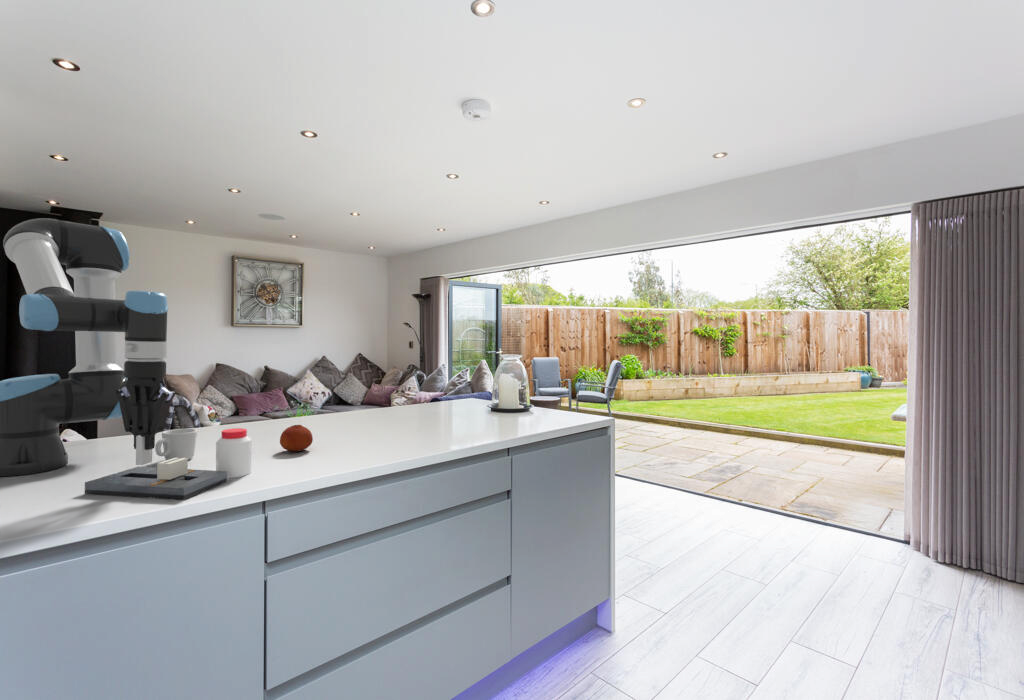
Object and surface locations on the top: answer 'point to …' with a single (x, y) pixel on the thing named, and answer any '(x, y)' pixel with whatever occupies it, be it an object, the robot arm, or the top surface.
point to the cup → (177, 443)
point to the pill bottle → (234, 452)
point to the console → (155, 484)
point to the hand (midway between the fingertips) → (144, 463)
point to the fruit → (296, 438)
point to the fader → (172, 469)
